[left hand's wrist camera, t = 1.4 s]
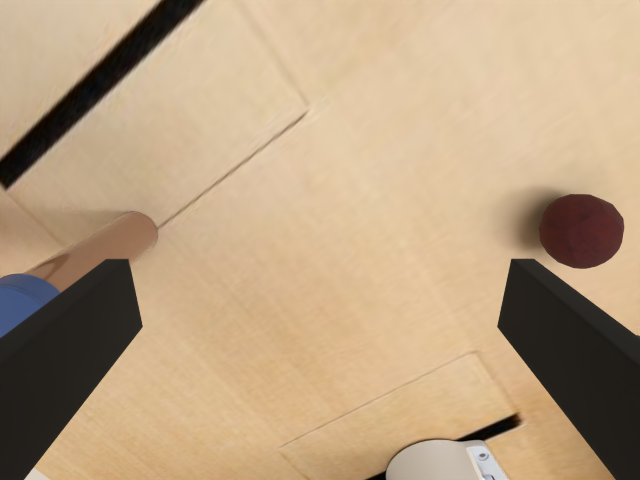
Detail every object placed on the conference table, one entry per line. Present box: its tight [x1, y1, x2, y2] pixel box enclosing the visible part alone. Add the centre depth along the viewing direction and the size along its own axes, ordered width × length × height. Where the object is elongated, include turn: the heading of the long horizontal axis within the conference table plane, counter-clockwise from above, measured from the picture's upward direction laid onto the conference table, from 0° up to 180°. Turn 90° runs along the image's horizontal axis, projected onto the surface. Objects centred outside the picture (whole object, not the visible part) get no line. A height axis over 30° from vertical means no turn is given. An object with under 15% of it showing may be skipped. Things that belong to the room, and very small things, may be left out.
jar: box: [22, 212, 158, 292], centre depth 33 cm, size 5×5×18 cm
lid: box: [0, 274, 61, 338], centre depth 25 cm, size 6×6×2 cm
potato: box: [540, 194, 624, 269], centre depth 38 cm, size 7×8×7 cm
